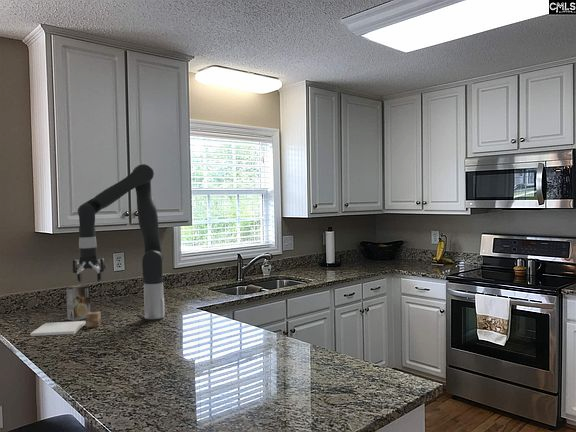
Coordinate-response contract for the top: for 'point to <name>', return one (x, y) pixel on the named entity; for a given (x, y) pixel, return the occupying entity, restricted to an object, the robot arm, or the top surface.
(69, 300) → the coffee box
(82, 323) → the cutting board
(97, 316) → the brown short block
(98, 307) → the top surface
